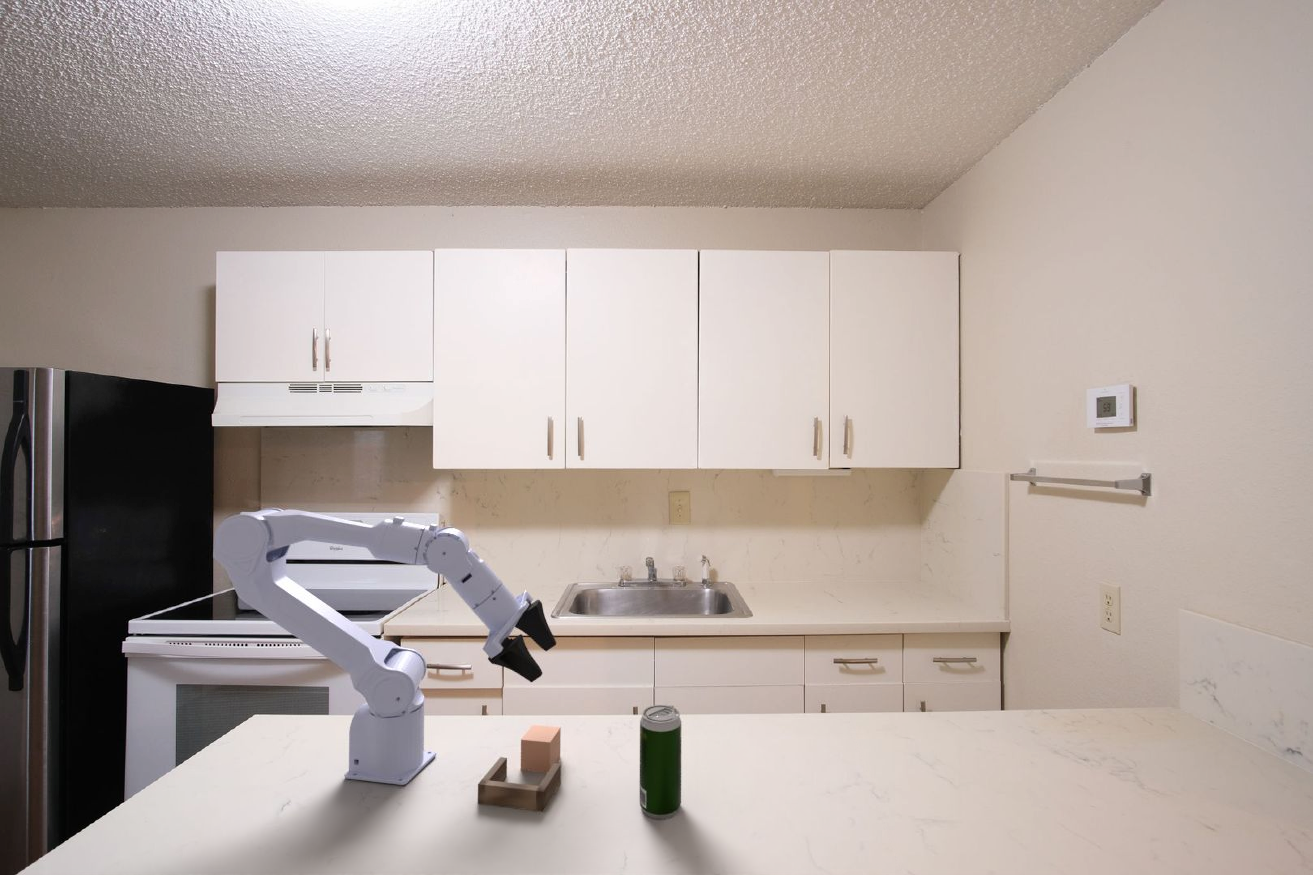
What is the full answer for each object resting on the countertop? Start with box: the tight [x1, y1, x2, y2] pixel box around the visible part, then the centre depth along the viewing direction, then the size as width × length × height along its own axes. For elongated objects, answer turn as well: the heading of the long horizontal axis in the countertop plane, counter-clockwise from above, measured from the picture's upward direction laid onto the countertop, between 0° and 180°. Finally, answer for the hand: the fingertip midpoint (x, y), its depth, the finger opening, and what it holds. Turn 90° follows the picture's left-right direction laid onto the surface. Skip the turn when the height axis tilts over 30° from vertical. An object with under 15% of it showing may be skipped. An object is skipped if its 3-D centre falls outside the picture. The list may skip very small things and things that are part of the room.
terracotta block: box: [520, 724, 562, 774], centre depth 83 cm, size 4×4×4 cm
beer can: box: [639, 704, 682, 820], centre depth 73 cm, size 5×5×12 cm
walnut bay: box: [477, 756, 562, 812], centre depth 75 cm, size 9×6×2 cm
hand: (544, 661), depth 86 cm, fingers open, 7 cm apart
